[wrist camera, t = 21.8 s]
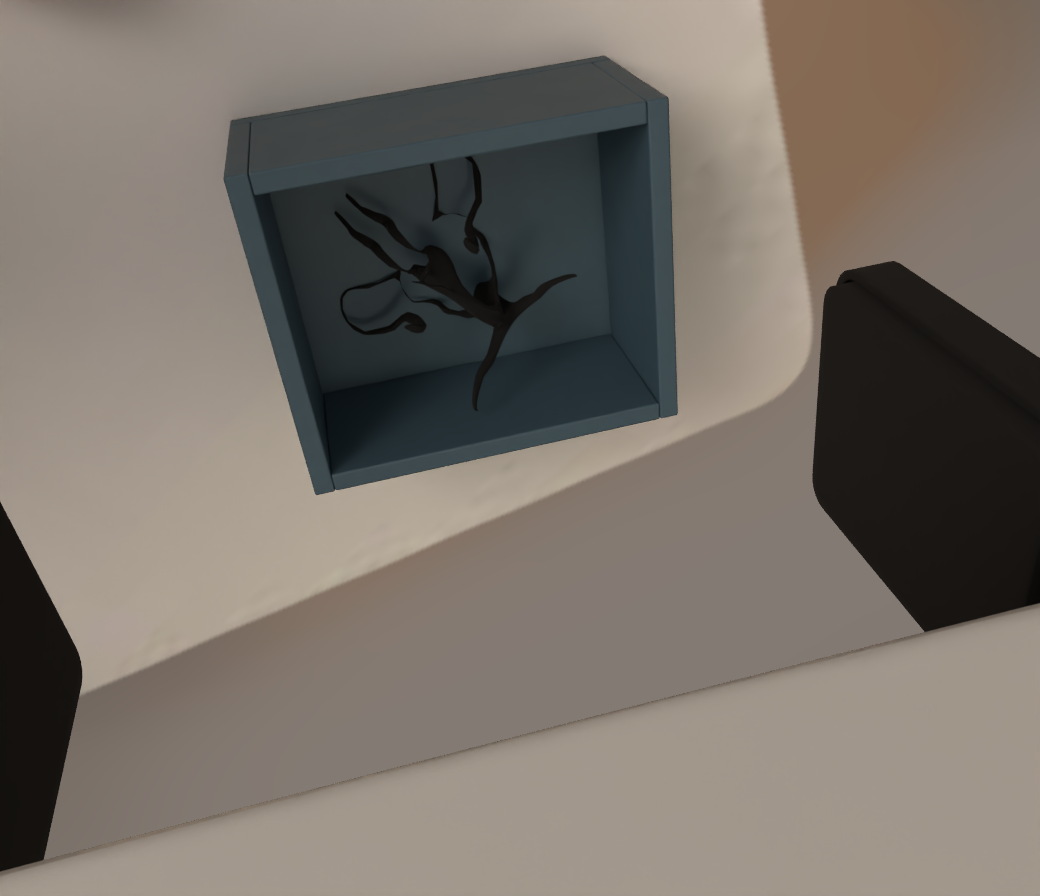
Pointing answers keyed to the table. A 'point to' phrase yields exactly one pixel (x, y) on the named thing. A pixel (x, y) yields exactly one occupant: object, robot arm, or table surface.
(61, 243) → the table surface
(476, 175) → the creature
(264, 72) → the table surface
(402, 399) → the teal open box
